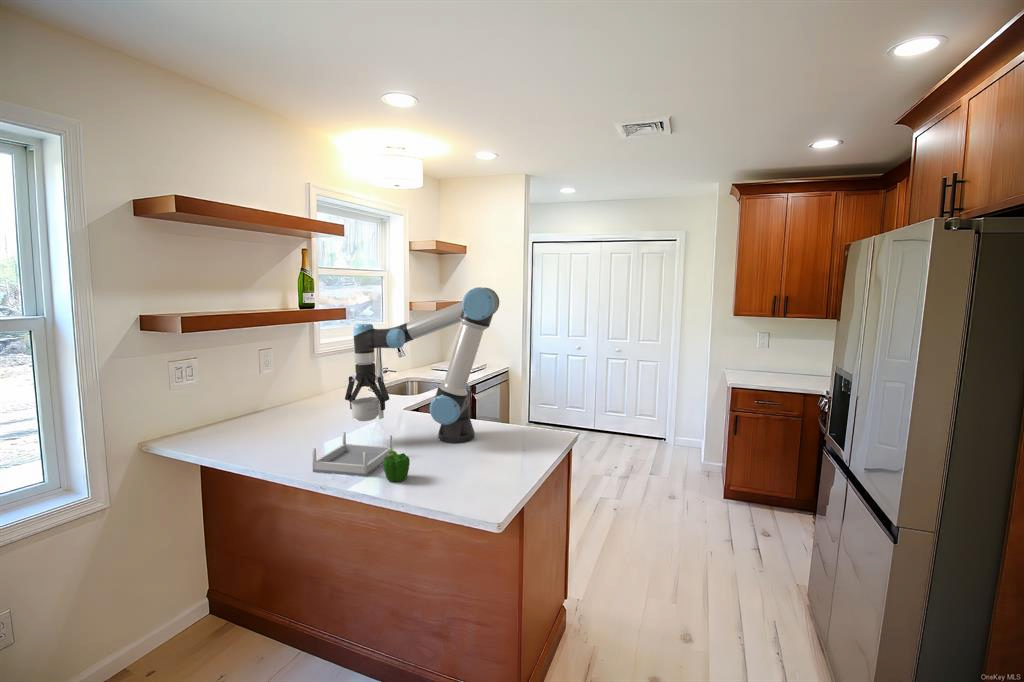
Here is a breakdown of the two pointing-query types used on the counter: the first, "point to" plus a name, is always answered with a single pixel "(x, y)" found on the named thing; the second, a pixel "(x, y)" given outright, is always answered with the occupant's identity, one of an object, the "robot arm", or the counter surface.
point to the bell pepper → (396, 466)
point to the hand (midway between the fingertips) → (368, 417)
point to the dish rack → (351, 458)
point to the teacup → (365, 408)
